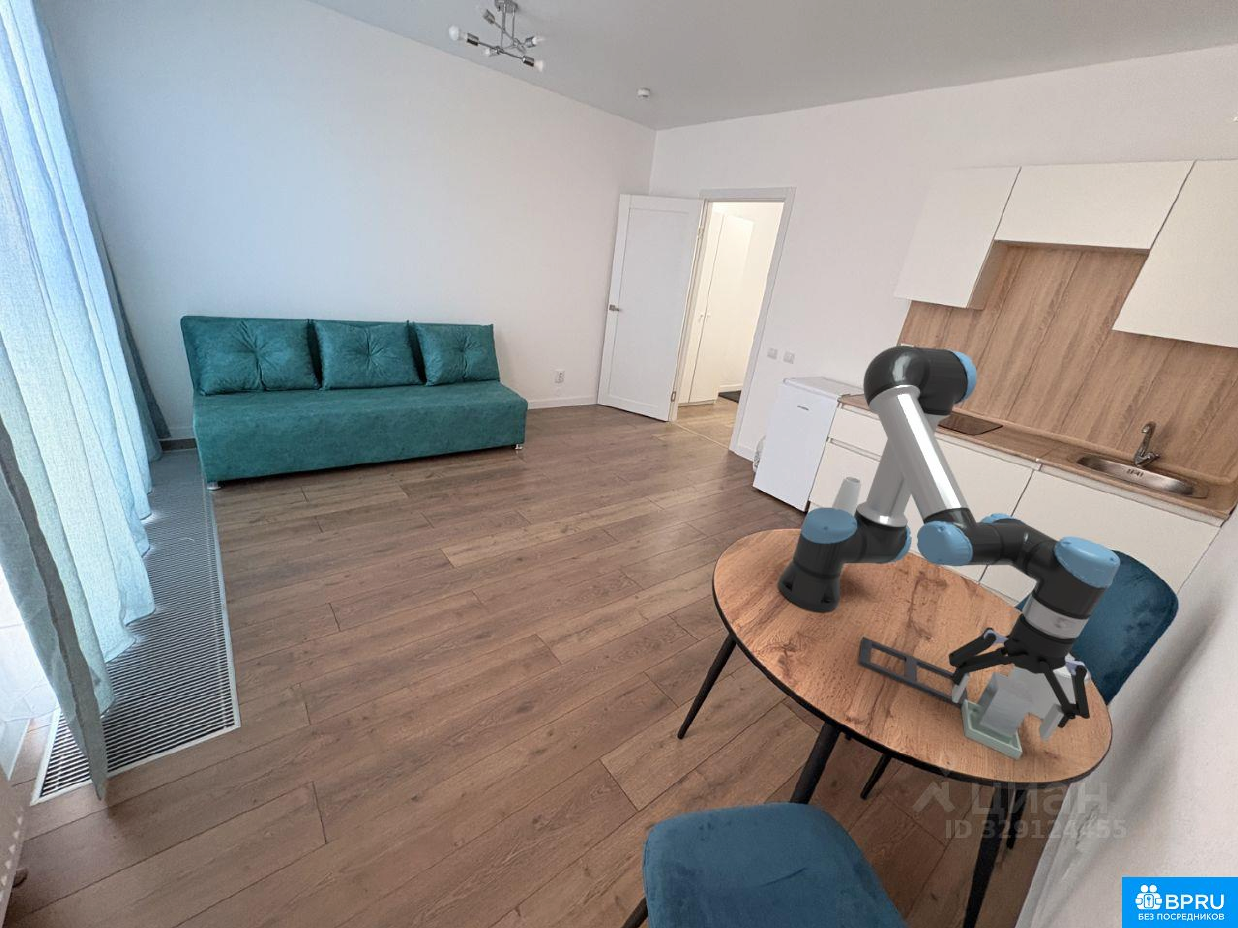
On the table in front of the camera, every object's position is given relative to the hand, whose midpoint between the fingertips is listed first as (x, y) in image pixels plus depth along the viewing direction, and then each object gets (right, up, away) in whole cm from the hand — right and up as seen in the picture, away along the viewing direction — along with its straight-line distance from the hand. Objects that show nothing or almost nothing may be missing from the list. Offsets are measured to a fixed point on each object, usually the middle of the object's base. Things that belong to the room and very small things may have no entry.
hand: (996, 715), depth 87 cm
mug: (+17, -2, +11) cm, 20 cm away
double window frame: (-8, +2, +14) cm, 16 cm away
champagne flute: (-4, +20, +59) cm, 63 cm away
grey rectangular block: (0, -3, +1) cm, 4 cm away
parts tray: (0, -4, +2) cm, 4 cm away
